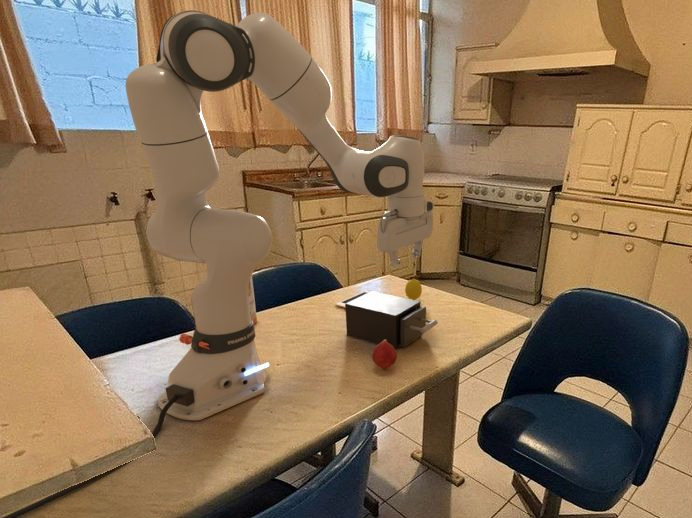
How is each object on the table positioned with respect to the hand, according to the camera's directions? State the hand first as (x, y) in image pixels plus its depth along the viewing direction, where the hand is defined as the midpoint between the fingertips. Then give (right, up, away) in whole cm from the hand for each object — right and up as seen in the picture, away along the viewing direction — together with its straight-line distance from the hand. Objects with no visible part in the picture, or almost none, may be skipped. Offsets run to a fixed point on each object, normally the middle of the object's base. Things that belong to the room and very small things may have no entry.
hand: (406, 261), depth 116 cm
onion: (-5, -27, -6) cm, 28 cm away
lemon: (+1, -9, +39) cm, 40 cm away
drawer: (-2, -19, +11) cm, 22 cm away
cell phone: (-17, -9, +38) cm, 43 cm away
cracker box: (-48, -18, +14) cm, 53 cm away
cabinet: (-7, -19, +13) cm, 24 cm away
